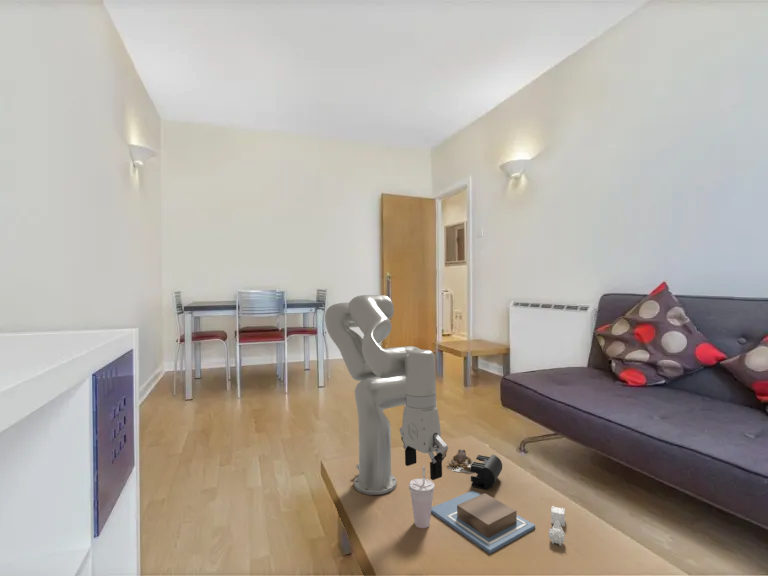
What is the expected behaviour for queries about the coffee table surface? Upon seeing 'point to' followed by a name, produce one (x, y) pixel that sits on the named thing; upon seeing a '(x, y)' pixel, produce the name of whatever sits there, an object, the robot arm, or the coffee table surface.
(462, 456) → the frog figurine
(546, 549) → the coffee table surface
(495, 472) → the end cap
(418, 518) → the smoothie
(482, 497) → the plinth
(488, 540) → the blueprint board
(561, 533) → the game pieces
